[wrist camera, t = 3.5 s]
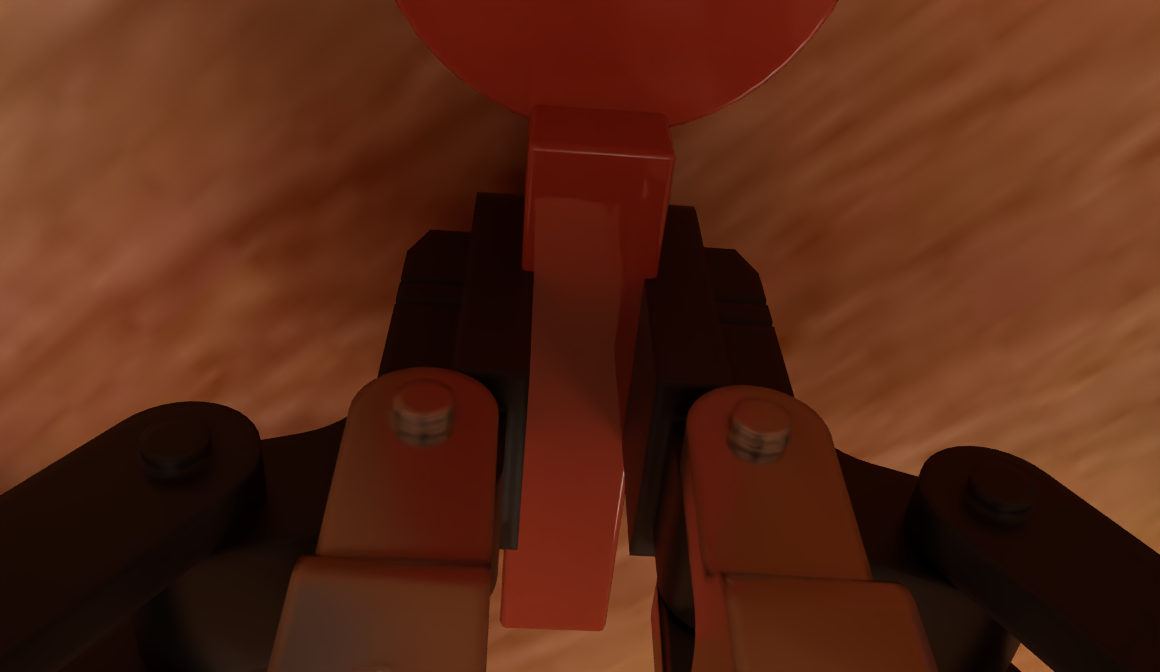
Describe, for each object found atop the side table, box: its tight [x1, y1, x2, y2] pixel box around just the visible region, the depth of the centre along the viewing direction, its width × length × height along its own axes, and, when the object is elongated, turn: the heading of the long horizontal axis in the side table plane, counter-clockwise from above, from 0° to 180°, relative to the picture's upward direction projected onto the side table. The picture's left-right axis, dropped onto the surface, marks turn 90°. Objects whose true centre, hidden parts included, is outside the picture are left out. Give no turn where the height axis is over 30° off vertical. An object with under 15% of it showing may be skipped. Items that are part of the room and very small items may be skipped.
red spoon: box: [395, 0, 838, 631], centre depth 11 cm, size 11×5×2 cm, turn 175°
